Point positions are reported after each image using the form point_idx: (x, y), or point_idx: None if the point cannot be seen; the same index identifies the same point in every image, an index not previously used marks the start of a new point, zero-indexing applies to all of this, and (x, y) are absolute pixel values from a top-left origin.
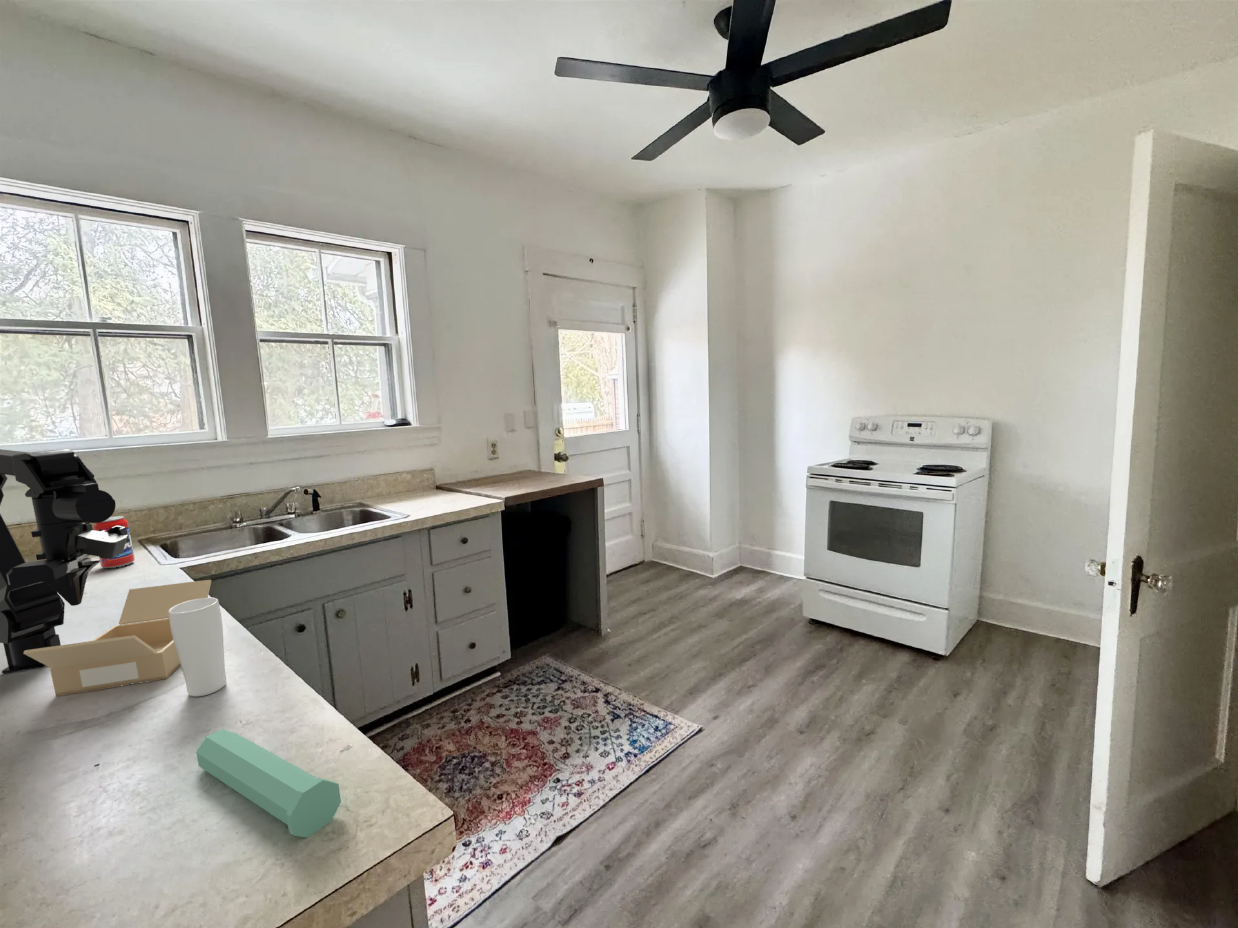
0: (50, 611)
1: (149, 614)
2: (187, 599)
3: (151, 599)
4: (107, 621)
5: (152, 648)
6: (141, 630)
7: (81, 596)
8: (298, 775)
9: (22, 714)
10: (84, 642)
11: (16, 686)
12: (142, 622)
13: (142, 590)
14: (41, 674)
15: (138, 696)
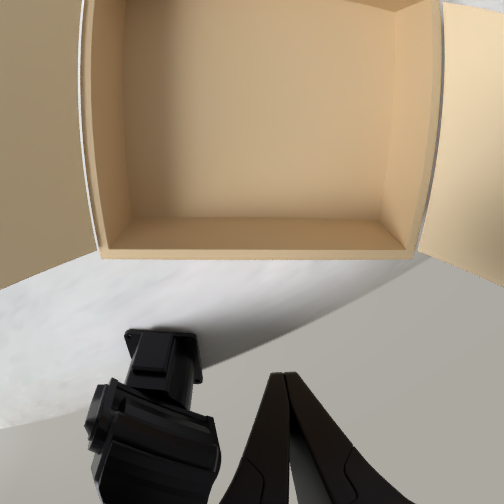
0: (147, 424)
1: (61, 166)
2: (12, 51)
3: (2, 193)
4: (3, 325)
5: (469, 6)
6: (109, 171)
7: (276, 398)
8: None
9: None
10: None
11: (277, 331)
12: (93, 174)
13: None
14: (230, 320)
15: None
